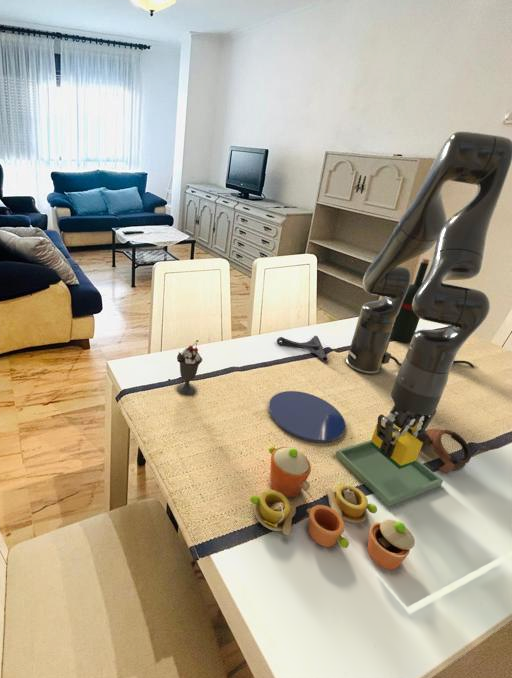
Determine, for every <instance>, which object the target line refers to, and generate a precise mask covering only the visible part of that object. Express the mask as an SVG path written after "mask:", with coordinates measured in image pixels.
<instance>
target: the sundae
mask: <svg viewBox="0 0 512 678" xmlns="http://www.w3.org/2000/svg"><path fill="white" fill-rule="evenodd" d="M199 341H200V340H199V339H198V340H197V339H196V340H195V342H194V344H195V347H194V344H192V345H189V346H188V347H185V349H184V350H182V352H179V351H178V354H177V356H176V360H177V362H178V363H179V372H180V376H181V378H182V379H183V380H184V381H185V382H184V383H182V384H179V385H178V386H177V389H176V390H177V392H178V393H179V394H181V396H188V397H189V396H192V395H194V394H195V393H196V388H195V387H194V386H193V385H192V384H190V381H192V380H194V379H195V378H196V375H197V373H198V369H199V365H200V364H201V363H202V362H203V358H202V356H201V354H200V353H199V352H198V351H199V348H198V347H197V346H198V345H197V344H198V342H199Z"/></svg>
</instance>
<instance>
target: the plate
mask: <svg viewBox="0 0 512 678" xmlns="http://www.w3.org/2000/svg"><path fill="white" fill-rule="evenodd" d="M268 413H269V415H270V417H271V419H272V421H273V422H274V423H275V424H276V425H277V426H278V427H279V428H281V430H283V431H284V432H286V433H287V434H289V435H291V436H293V437H296V438H297V439H300V440H303V441H307V442H311V443H320V444H327V443H332V442H335V441H337V440H339V439H340V438H341V437H342V436H343V435H344V433H345V430H346V422H345V419H344V417H343V415H342V414H341V412H340V411H339V410H338V409H337V408H336V407H335V406H334V405H332V404H331V403H330V402H328V401H327V400H325V399H323V398H321V397H319V396H317V395H314V394H311V393H308V392H303V391H297V390H286V391H280V392H278V393H276V394H274V395H273V396H272V397H271V398H270V400H269V402H268Z"/></svg>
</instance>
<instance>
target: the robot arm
mask: <svg viewBox="0 0 512 678" xmlns="http://www.w3.org/2000/svg"><path fill="white" fill-rule="evenodd" d="M511 165H512V139H510V138H508V137H505V136H501V135H494V134H487V133H479V132H472V131H456V132H453V133H452V134H451V135H450V136H449V137H448V138H447V139H446V140H445V142H444V143H443V144H442V145H441V148H439V151H438V153H437V154H436V156H435V158H434V161H433V162H432V165H431V166H430V168H429V170H428V172H427V174H426V176H425V178H424V180H423V183H422V184H421V186H420V188H419V189H418V191H417V193H416V195H415V196H414V197H413V199H412V201H411V202H410V204H409V206H408V207H407V209H406V210H405V212H404V213H403V215H402V216H401V217H400V219H399V221H398V222H397V224H396V225H395V227H394V229H393V231H392V232H391V234H390V237H389V238H388V240H387V241H386V243H385V245H384V247H383V248H382V249H381V251H380V252H379V253H378V254H377V255H376V257H375V258H374V259H373V260H372V262H371V263H370V264H369V266H368V267H367V269H366V271H365V272H364V275H363V278H362V289H363V291H364V292H365V293H366V294H369V295H372V296H375V297H376V296H377V297H383V298H380V299H377V300H372V301H368V302H364V303H363V304H362V306H361V307H360V308H361V309H360V312H359V315H358V319H357V323H356V326H355V328H354V329H355V330H354V333H353V337H352V340H351V343H350V347H349V349H348V350H347V353H348V354H347V357H346V359H345V363H346V364H347V366H348V367H349V368H351V369H353V370H355V371H356V372H359V373H362V374H367V375H373V374H378V373H379V372H380V370H381V369H382V367H383V365H386V364H389V363H390V360H393V361H394V362H395V364H396V365H397V366H400V367H399V368H398V372H397V375H396V377H395V380H394V384H393V386H392V389H391V392H390V397H391V399H392V401H393V404H394V405H393V406H392V408H391V409H390V411H389V414H387V415H386V416H385V415H384V414H379V415H378V417H377V422H376V425H377V436H378V437H379V438H380V439H381V440H383V442H382V444H381V447H380V452H381V453H382V454H383V455H384V456H386V457H387V458H389V457H391V456H392V453H393V451H394V448H395V445H396V443H397V441H398V440H399V438H400V436H404V435H405V434H406V432H407V431H408V432H409V433H410V434H412V435H413V436H414V437H417V435H418V433H420V434H422V433H424V431H425V430H427V428H428V426H429V425H430V423H431V422H432V420H433V419H434V417H435V415H436V413H437V408H438V406H439V404H440V401H441V398H442V395H443V394H444V390H445V388H446V386H447V383H448V380H449V375H450V371H451V369H452V366H453V364H465V365H468V366H470V367H471V368H475V365H474V364H473V363H471V362H470V361H467V360H455V359H456V358H457V357H456V356H457V355H458V352H459V351H460V349H461V348H462V347H463V345H465V343H466V342H467V341H468V339H469V338H470V337H471V336H472V335H473V334H474V333H475V332H476V331H477V330H478V328H479V327H480V326H482V324H483V323H484V322H485V320H486V319H487V318H488V315H489V313H490V309H491V304H490V300H489V297H488V295H487V294H486V293H485V292H484V291H482V290H479V289H475V288H469V287H464V286H460V285H454V284H448V283H443V282H445V281H464V280H465V281H466V280H469V279H473V278H475V277H477V276H478V275H479V274H480V273H481V270H482V266H483V259H484V253H485V247H486V240H487V236H488V231H489V228H490V224H491V221H492V217H493V215H494V212H495V210H496V207H497V204H498V202H499V200H500V197H501V194H502V192H503V188H504V185H505V182H506V180H507V177H508V174H509V171H510V169H511ZM447 182H456V183H462V184H467V185H472V186H473V185H475V186H477V191H476V193H475V195H474V196H473V198H472V199H470V201H468V203H466V205H464V206H463V207H462V208H461V209H459V210H458V211H457V212H456V213H455V214H453V215H452V216H451V217H450V218H448V219H447V214H446V208H445V206H444V202H443V193H442V191H443V190H442V188H443V186H444V185H445V184H446V183H447ZM434 245H435V248H434V253H433V257H432V258H433V259H432V261H431V266H430V268H429V270H428V272H427V275H426V276H425V277H424V279H423V282H422V284H421V286H420V287H419V289H418V291H417V292H416V294H415V296H414V298H413V301H412V308H413V311H414V313H415V315H416V316H417V317H418V318H420V319H419V320H423V321H427V322H431V323H436V324H441V325H445V326H447V327H445V328H442V329H419V330H417V331H415V333H414V335H413V337H412V339H411V342H410V343H409V345H408V349H407V351H406V354H405V357H404V359H403V360H402V362H400V361H399V360H398V359H397V358H396V357H395V356H393V355H392V354H391V353H389V352H388V348H389V345H390V341H389V340H390V339H391V338H390V335H391V332H392V328H393V325H394V322H395V319H396V317H397V315H398V314H399V311H400V308H401V306H402V303H403V301H404V298H405V296H406V293H407V291H408V288H409V285H411V279H412V275H411V274H412V273H411V271H410V269H409V268H407V267H406V266H402V264H404V263H406V262H409V261H411V260H414V259H416V258H418V257H420V256H422V255H424V254H425V253H427V252H428V251H429V250H431V249H432V248H433V247H434ZM393 424H395V425H396V426H397V427H399V428H401V430H399V429H398V428H397V427H395V426H394V425H393ZM393 432H394V433H395V435H394V437H392V434H393Z"/></svg>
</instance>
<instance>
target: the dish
mask: <svg viewBox="0 0 512 678" xmlns="http://www.w3.org/2000/svg"><path fill="white" fill-rule="evenodd" d="M370 442H371V439H370V440H367V441H362V442H359V443H356V444H353V445H350V446H347V447H344V448H343V447H342V448H341V449H336V452H335V456H334V457H336V458H337V459H338V460H339V461H340V462H341V463H342V464H343V465H344V466H345V468H347V469H348V470H349V471H350V472H351V473H352V474H353V475H354V476H355V477H356V478H357V479H358V480H359V481H360V482H361V483H362V484H363V485H364V486H366V488H368V490H370V491H371V492H372V493H373V494H374V495H375V496H376V497H377V498H378V499H379V500H380V501H381V502H382V503H383V504H384V505H385V506H386V507H387V508H389V507H392V506H394V505H397V504H398V503H402V502H404V501H407V500H409V499H412V498H414V497H417V496H418V495H421V494H424V493H427V492H429V491H432V490H434V489H437V488H439V487H441V486H442V484H443V481H444V479H442V478H441V477H440V476H439V475H437V474H436V473H435V472H434V471H432V470H431V469H430V468H428V467H427V466H426V465H425V464H424V463H422V462H421V461H420V460H419V459H416V461H415V464H412V465H410V466H407V467H404V468H401V469H399V468H397V467H396V466H395V465H394V464H393V463H392V462H390V461H389V460H388V459H387V458H386V457H384V456H383V455H382V454H381V453H380V452H379V451H377V450H376V449H375V448H374V447H373V446H372V445H370Z"/></svg>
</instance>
